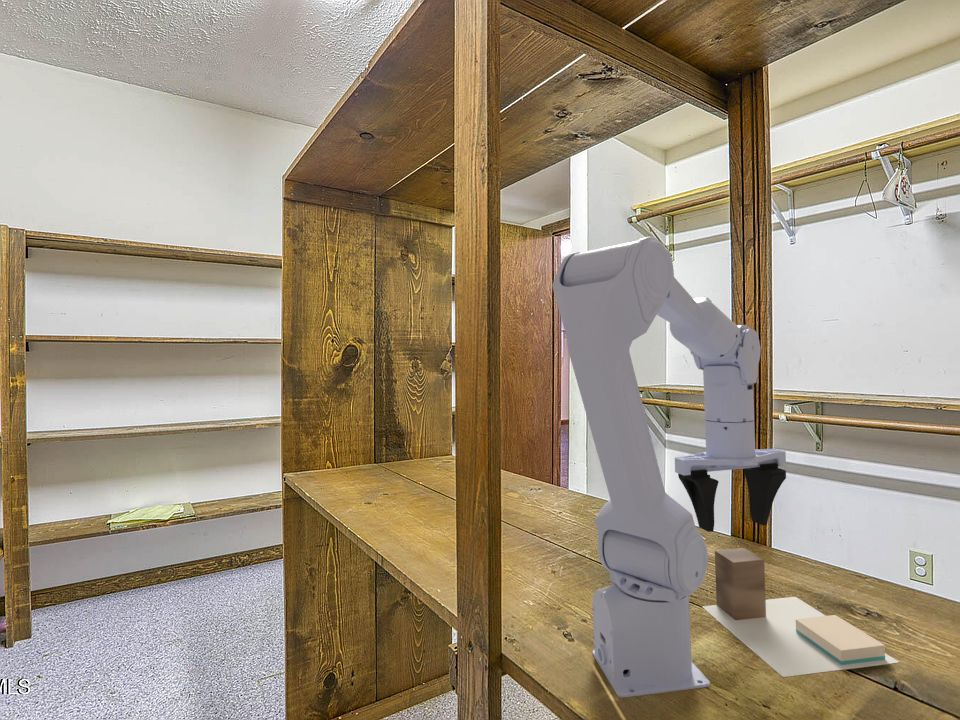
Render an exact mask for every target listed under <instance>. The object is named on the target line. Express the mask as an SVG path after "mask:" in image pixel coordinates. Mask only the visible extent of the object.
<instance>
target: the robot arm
mask: <svg viewBox="0 0 960 720" xmlns="http://www.w3.org/2000/svg"><path fill="white" fill-rule="evenodd" d="M674 272H675V271H674V263H673V259H672V255H671V253H670V251H669V250H667V248H666V247H665V246H664V245H663V244H662V242H661V241H660V240H658V239H657V238H655V237H653V236H645V237H641V238H639V239H638V240H634V241H631V242H630V241H629V242H625V243H620V244H616V245H611V246H606V247H601V248H597V249H592V250H587V251H583V252H579V251H576V252H572V253H569V254H567V255H566V256H565V257H564V258H563V259H562V261H561V263H560V265H559V267H558V270H557V272H556V275H555V277H554V280H553V283H552V289H553V291H552V292H553V294H554V298H555V301H556V304H557V307H558V308H557V309H558V311H559V314H560V318H561V322H562V326H563V330H564V333H565V337H566V344H567V345H566V346H567V350H568V355H569V359H570V362H571V365H572V369H573V372H574V375H575V379H576V383H577V387H578V390H579V393H580V398H581V400H582V403H583V407H584V411H585V414H586V418H587V422H588V425H589V430H590V432H591V436H592V440H593V442H594V445H595V450H596V453H597V457H598V460H599V464H600V467H601V470H602V471H601V472H602V474H603V477H604V481H605V484H606V485H605V486H606V489H607V492H608V495H609V500H608V501H607V502H605V503H604V504H603V506H602V507H601V508H600V510H599V511H598V513H597V515H596V517H595V519H594V521H595V522H594V523H595V525H596V529H597V554H598V558H599V561H600V563H601V565H602V567H603V568H605V569H606V570H607V571H609V581H610V582H612V583H611V584H610V585H608V586H606V587H602V588H599V589H596V590H594V592H593V596H592V597H593V598H592V619H593V644H594V645H593V648H594V649H593V650H592V656H593V658H594V659H595V660H596V662H597V663H598V666H599V667H600V669H601V671H602V672H603V674H604V676H605V677H606V678H607V681H608V683H609V684H610V685H611V687H612V689H613V690H614V692H615V694H616V696H617V697H619V698H629V697H639V696H647V695H654V694H661V693H663V694H664V693H668V692H669V693H671V692H679V691H686V690H687V691H688V690H691V689H692V690H694V689H695V690H696V689H700V688H701V689H702V688H708V687H711V681H710V679H708V678H707V676H705V674H703V672H702V671H701V670H700V669H699V668H698V667H697V666H696V664H694V662H693V661H692V641H691V640H692V639H691V637H692V636H691V634H692V633H691V611H690V609H691V608H690V606H691V605H690V596H691V595H693V594H694V593H695V592H696V591H697V590H698V589H699V588H700V587H701V586H702V584H703V582H704V579H705V578H706V575H707V570H708V566H709V565H708V563H709V552H708V548H707V543H706V542H705V540H704V538H703V535H702V534H701V532H700V531H699V530H698V528H697V527H696V524H695V521H694V516H693V514H692V513H691V512H690V511H689V510H687V508H685V507H684V506H683V505H681V504H680V503H679V502H678V501H676V500H675V499H674V498H672V497H671V496H670V495H669V494H667V492H666V491H665V486H664V484H663V479H662V474H661V471H660V468H659V462H658V459H657V455H656V452H655V447H654V443H653V439H652V436H651V432H650V428H649V424H648V419H647V416H646V413H645V409H644V405H643V400H642V396H641V392H640V388H639V384H638V381H637V376H636V371H635V369H634V365H633V361H632V357H631V356H632V355H631V353H630V348H631V346H632V343H633V341H634V340H636V339H638V338H640V337H641V336H643V335H644V334H646V333H647V332H648V331H649V329H650V326H651V325H652V324H653V322H654V320H655V318H656V316H658V317H660V318H662V319H663V320H665V321H666V322H668V323H669V331H670V333H671V336H672V337H673V338H674V339H675V340H676V341H678V342H679V343H680V344H682V345H683V346H685V348H687V349H688V350H689V352H690V354H691V355H692V357H693V360H694V364H695V366H696V367H697V368H698V369H697V370H701V371H703V372H702V374H703V377H702V379H703V398H704V399H703V401H704V402H703V403H704V426H705V427H704V428H705V429H704V430H705V431H704V432H705V451H702V452H699V453H694V454H688V455H683V456H676V457H674V472H675V473H677V474H678V479H679V480H680V482H681V484H682V485H683V487H684V490H685V491H686V492H687V495H688V497H689V499H690V501H691V505H692V506H693V510H694V513H695V517H696V520H697V523H698V527H699V528H700V529H702V530H704V531H706V532H709V533H711V532H714V529H715V501H716V500H715V499H716V495H717V489H718V484H719V482H720V481H719V480H717V479H715V478H712V477H711V475H710V474H708V473H709V472H720V471H721V472H722V471H731V470H740V469H741V470H743V473H744V477H745V481H746V486H747V490H748V491H747V492H748V497H749V499H748V500H749V501H748V502H749V514H750V519H751V522H753V523H756V524H758V525H760V526H768V522H769V517H770V514H771V510H772V506H773V503H774V500H775V499H776V495H777V494H778V491H779V489H780V487H781V485H782V484H783V483H784V481H785V480H786V478H787V470H786V469H783V468H779V467H786V466H787V461H786V460H787V458H786V455H787V452H786V450H781V449H777V448H765V449H764V448H763V449H756V436H755V435H756V433H755V429H756V428H755V404H754V403H755V402H754V401H755V400H754V384H756V383H757V382H758V367H759V363H760V359H761V353H762V352H761V350H762V349H761V348H762V347H761V343H760V339H759V335H758V333H757V331H756V330H755V329H754V328H750V327H749V326H748V325H747V324H738V325H737V324H736V323H735V322H734V321H732V320H731V318H730V317H728V316H727V315H726V314H725V313H724V312H723V311H722V310H721V309H720V308H719V307H718V306H716V304H714V303H713V302H712V300H711V299H710V298H709V297H706V296H705V297H695V298H694V297H693V296H691V294H690V293H689V292H688V291H687V290H686V289H685V287H683V285H682V284H681V283H680V282H679V281H678V279H676V277H675V273H674Z"/></svg>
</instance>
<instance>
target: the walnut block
mask: <svg viewBox="0 0 960 720" xmlns="http://www.w3.org/2000/svg"><path fill="white" fill-rule="evenodd" d="M714 569H715V598H716V605H717V606H719V607H720V608H721V609H722V610H723V611H725V612H726V613H727V614H728V615H730V616H731V617H732V618H733V619H734V620H743V619H752V618H761V617H766V600H767V599H766V580H765V579H766V576H765V575H766V574H765V573H766V572H765V559H764V558H762V557H761V556H759V555H757V554H755V553H754V552H752V551H750V550H748V549H746V548H745V547H738V548H727V549H725V548H724V549H715V550H714Z"/></svg>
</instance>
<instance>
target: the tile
mask: <svg viewBox="0 0 960 720" xmlns="http://www.w3.org/2000/svg"><path fill="white" fill-rule="evenodd" d="M796 633H798V634H799V635H800V636H802V637H803V638H805V639H806V640H807V641H809V642H810V643H812V644H813V645H814V646H816V647H817V648H818V649H820V650H821V651H823V652H824V653H825V654H827V655H828V656H830V657H831V658H832V659H834V660H835V661H837V662H838V663H839V664H841V665H846V664H854V663H862V662H870V661H878V660H885V653H886V645H885V644H884V643H882V642H880V641H879V640H877V639H875V638H874V637H872V636H870V635H869V634H868V633H865V632H864V631H862V630H860V629H859V628H858V627H856V626H855V625H852V624H851V623H849V622H848V621H846V620H845V619H842V618H841V617H839V616H838V615H836V614H833V615H825V616H821V617H812V618H803V619H796Z"/></svg>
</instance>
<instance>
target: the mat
mask: <svg viewBox="0 0 960 720" xmlns="http://www.w3.org/2000/svg"><path fill="white" fill-rule="evenodd" d="M765 600H766V617H761V618H752V619H743V620H734V619H733V618H732V617H731V616H730V615H728V614H727V613H726V612H725V611H723V610H722V609H721V608H720V607H719V606H717V604H713V605H712V604H711V605H703V606H702V605H701V608H702V609H703V610H705V611H706V612H707V613H708V614H709V615H710V616H712V618H714V619H715V620H717V622H719V623H720V624H721V626H723V627H724V628H725V629H727V630H728V631H729V632H730V633H731V634H732V635H734V636H735V637H736V638H737V639H738V640H739V641H740V642H741V643H743V644H744V645H745V646H747V647H748V649H750V650H751V652H753V653H754V654H755V655H757V656H758V658H760V659H761V660H762V661H763V662H765V664H767V665H768V666H769V667H770V668H772V670H774V671H775V672H776V673H777V674H779V676H781V677H782V678H789V677H796V676H803V675H813V674H821V673H828V672H829V673H830V672H836V671H843V670H851V669H859V668H860V669H861V668H867V667H868V668H869V667H875V666H876V667H877V666H883V665H892V664H899V663H900V661H899V660H897V659H895V658H894V657H892V656H891V655H889V654H888V653H886V652H885V660H878V661H870V662H862V663H854V664H846V665H841V664H839V663H838V662H837V661H835V660H834V659H832V658H831V657H830V656H828V655H827V654H825V653H824V652H823V651H821V650H820V649H818V648H817V647H816V646H814V645H813V644H812V643H810V642H809V641H807V640H806V639H805V638H803V637H802V636H800V635H799V634H798V633H796V619H803V618H812V617H821V616H826V615H825V614H824V613H822V612H821V611H819V610H818V609H816V608H814V607H813V606H811V605H809V604H808V603H807V602H805V601H803V600H801V599H800V598H798V597H796V596H789V597H779V598H770V599H765Z"/></svg>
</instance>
